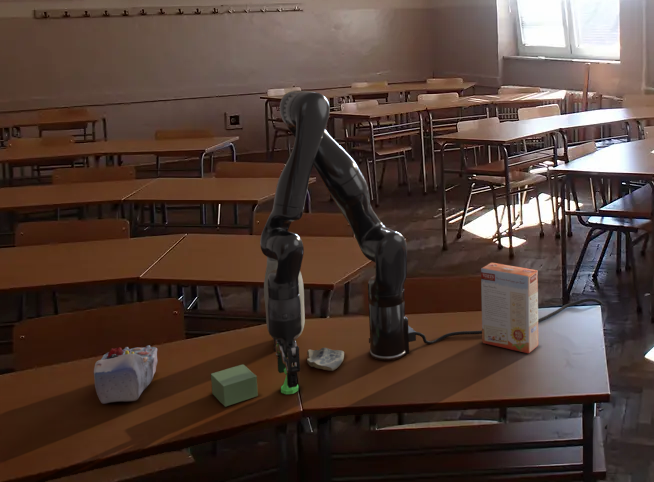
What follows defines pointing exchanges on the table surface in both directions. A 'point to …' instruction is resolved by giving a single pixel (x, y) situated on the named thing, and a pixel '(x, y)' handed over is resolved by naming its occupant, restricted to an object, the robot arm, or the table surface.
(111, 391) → the cell model
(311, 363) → the ceramic fragment
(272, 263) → the white bottle
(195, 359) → the table surface
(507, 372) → the table surface
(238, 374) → the green block
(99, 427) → the table surface
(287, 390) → the game piece
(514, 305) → the cracker box
